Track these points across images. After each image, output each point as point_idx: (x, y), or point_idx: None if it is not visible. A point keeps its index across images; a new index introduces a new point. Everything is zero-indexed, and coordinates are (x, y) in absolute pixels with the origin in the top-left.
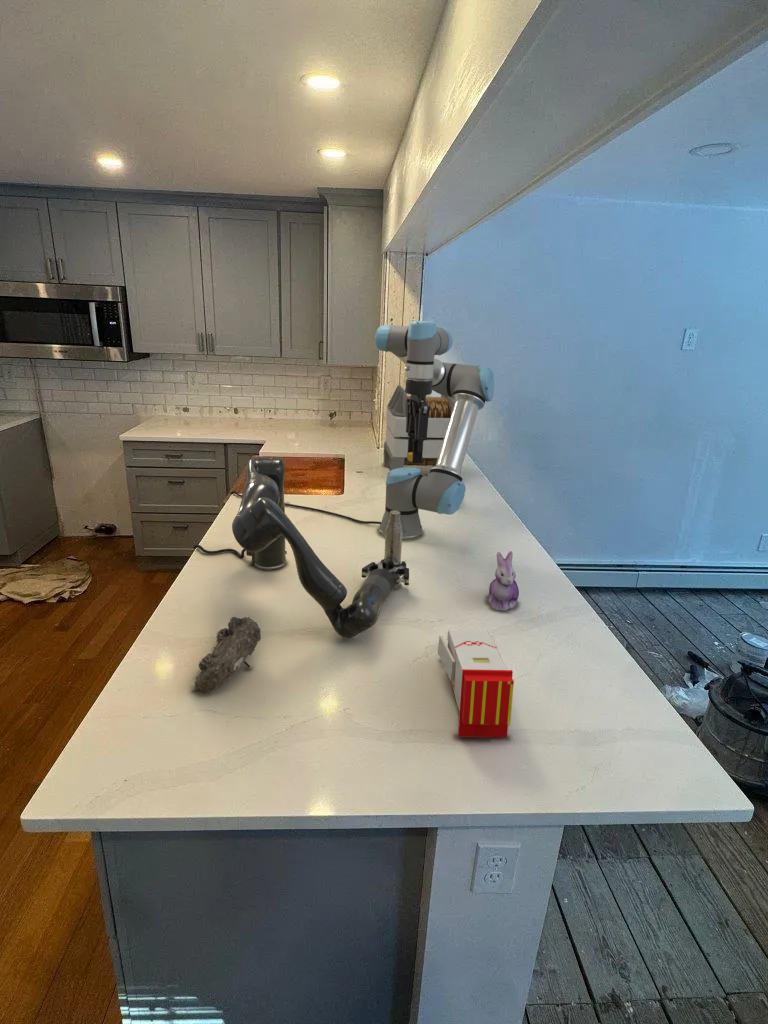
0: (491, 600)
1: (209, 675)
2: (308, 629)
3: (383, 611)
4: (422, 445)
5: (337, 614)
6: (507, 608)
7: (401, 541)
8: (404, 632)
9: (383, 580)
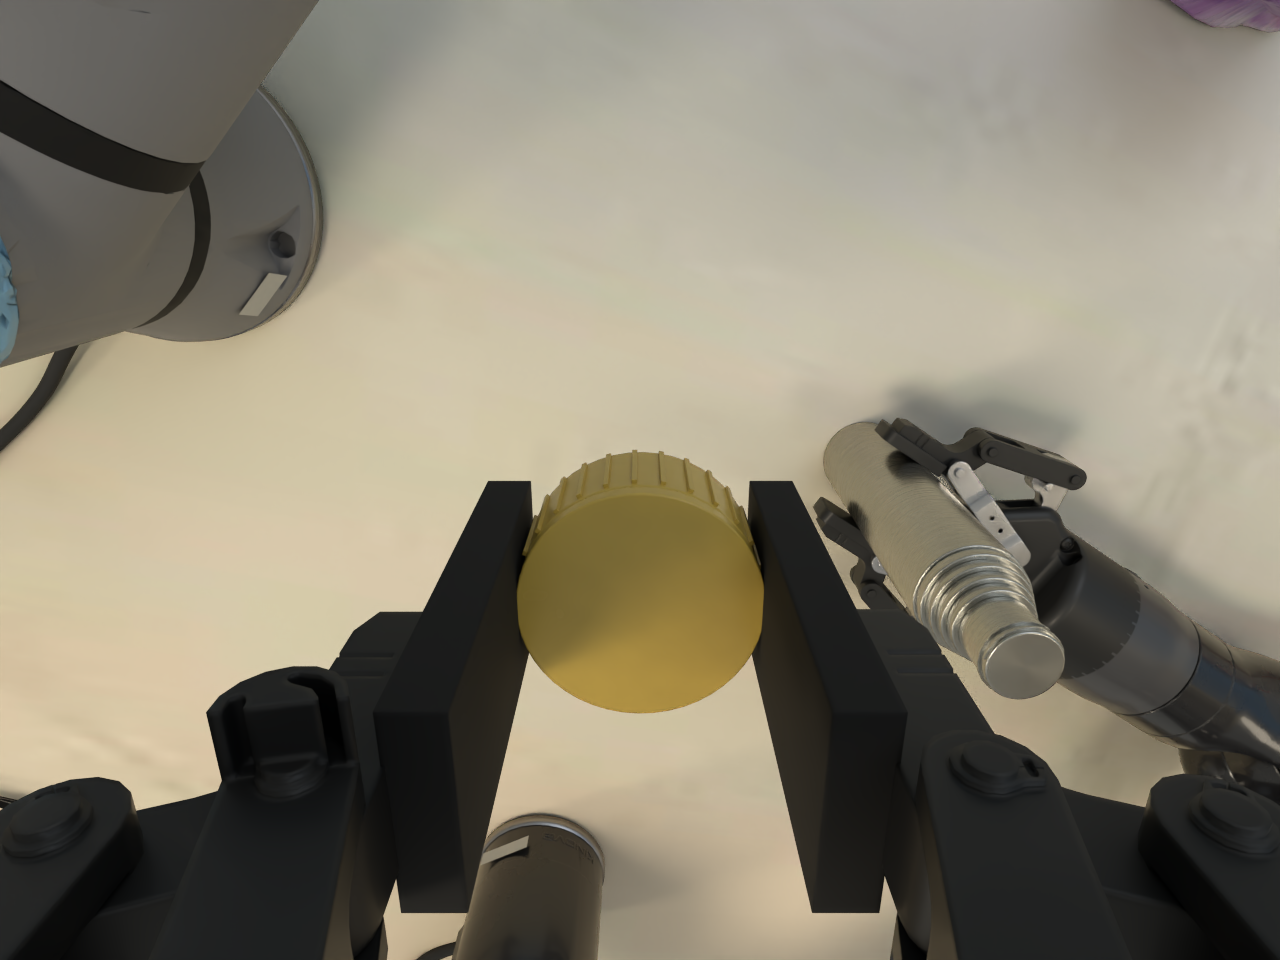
0: (1251, 18)
1: None
2: None
3: None
4: (867, 649)
5: None
6: None
7: (979, 522)
8: (1247, 519)
9: (1154, 633)
